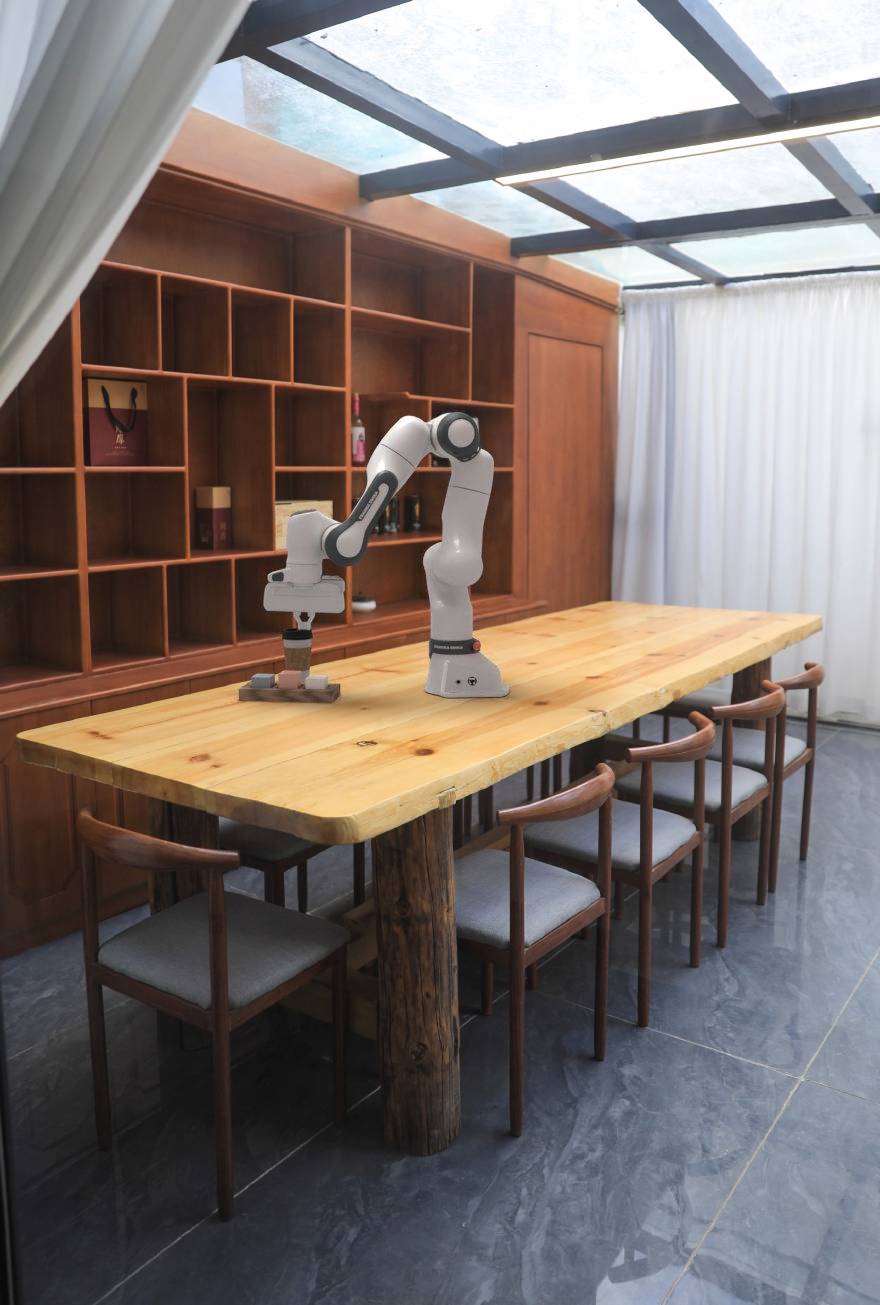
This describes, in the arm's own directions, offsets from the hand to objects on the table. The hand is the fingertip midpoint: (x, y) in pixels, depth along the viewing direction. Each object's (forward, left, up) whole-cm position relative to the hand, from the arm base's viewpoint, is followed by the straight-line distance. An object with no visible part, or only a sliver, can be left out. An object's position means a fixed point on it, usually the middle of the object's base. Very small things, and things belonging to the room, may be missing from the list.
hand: (304, 629), depth 257 cm
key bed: (+4, 0, -18) cm, 18 cm away
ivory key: (-3, 0, -16) cm, 16 cm away
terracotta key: (+4, 0, -15) cm, 16 cm away
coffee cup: (+7, -20, -18) cm, 28 cm away
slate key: (+11, 0, -16) cm, 20 cm away
